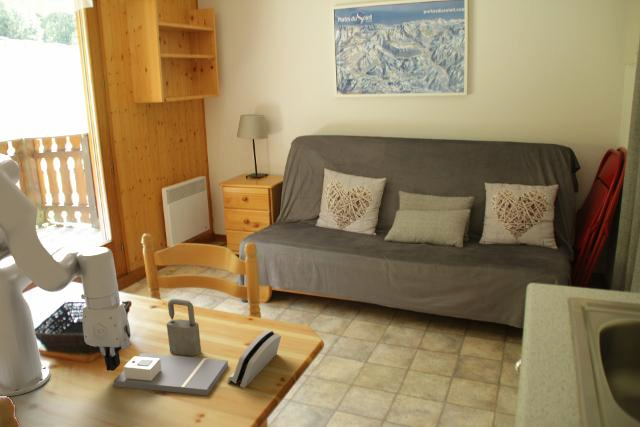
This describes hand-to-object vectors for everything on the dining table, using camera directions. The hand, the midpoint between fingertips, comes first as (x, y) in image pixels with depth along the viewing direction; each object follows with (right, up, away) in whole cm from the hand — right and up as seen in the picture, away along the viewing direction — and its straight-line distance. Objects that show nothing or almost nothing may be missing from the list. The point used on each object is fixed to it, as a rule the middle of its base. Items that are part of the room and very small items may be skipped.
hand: (113, 367), depth 136 cm
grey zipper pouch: (+35, -1, +2) cm, 35 cm away
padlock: (+15, +1, +12) cm, 19 cm away
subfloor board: (+14, -2, +1) cm, 15 cm away
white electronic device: (+8, -1, -1) cm, 8 cm away
